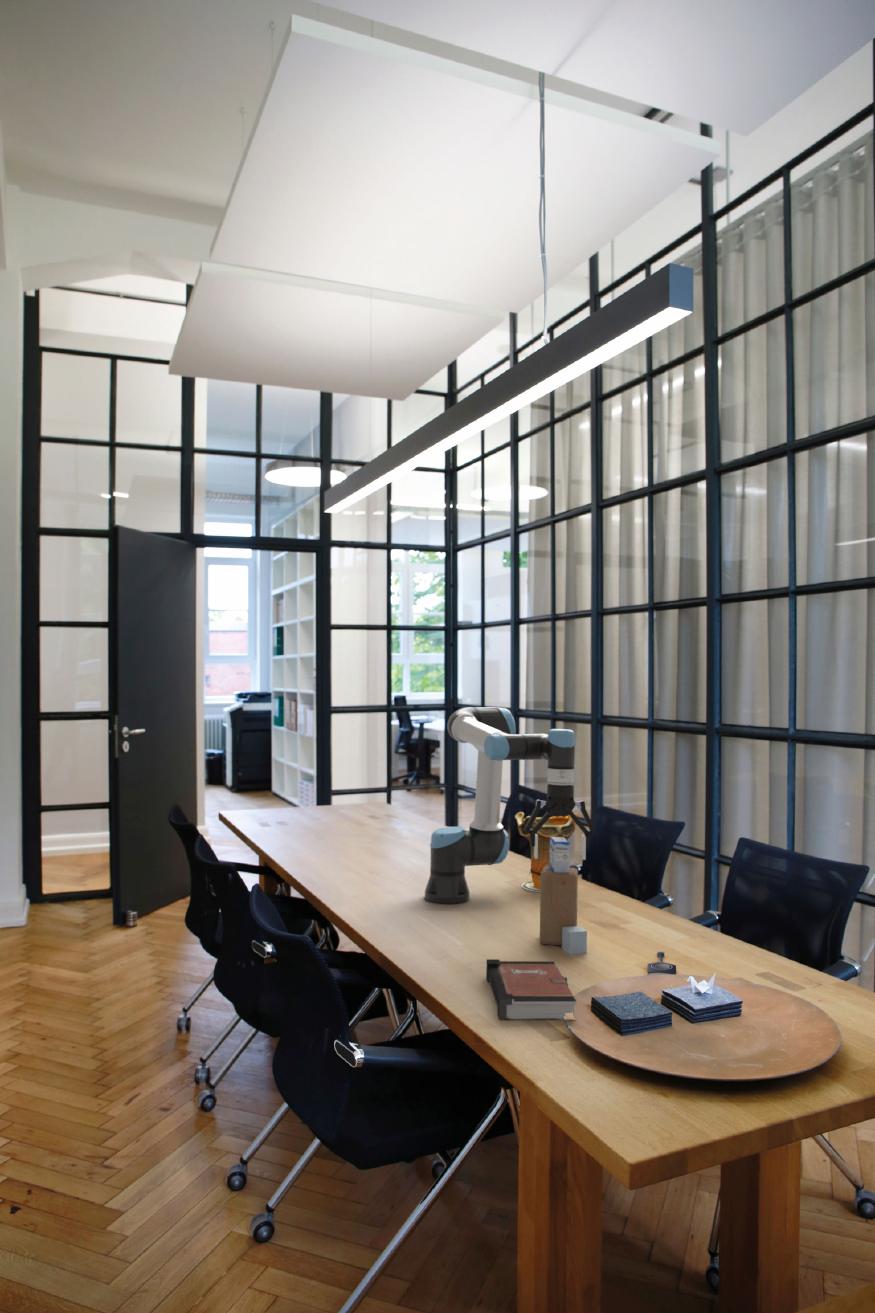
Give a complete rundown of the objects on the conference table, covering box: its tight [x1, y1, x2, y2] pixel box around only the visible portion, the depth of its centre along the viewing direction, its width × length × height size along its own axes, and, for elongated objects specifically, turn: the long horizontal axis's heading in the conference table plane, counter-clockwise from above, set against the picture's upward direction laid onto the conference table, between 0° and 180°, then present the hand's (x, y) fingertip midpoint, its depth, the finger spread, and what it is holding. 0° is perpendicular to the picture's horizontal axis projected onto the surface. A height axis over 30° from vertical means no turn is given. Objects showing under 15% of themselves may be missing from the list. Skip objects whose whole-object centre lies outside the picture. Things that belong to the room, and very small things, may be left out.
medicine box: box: [549, 837, 571, 873], centre depth 241 cm, size 8×4×9 cm, turn 2°
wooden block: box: [539, 866, 579, 946], centre depth 240 cm, size 10×10×20 cm
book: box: [486, 958, 577, 1021], centre depth 196 cm, size 26×18×5 cm
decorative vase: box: [514, 811, 579, 893], centre depth 303 cm, size 21×23×28 cm
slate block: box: [561, 925, 588, 955], centre depth 231 cm, size 5×5×6 cm
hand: (559, 858), depth 241 cm, fingers open, 13 cm apart
